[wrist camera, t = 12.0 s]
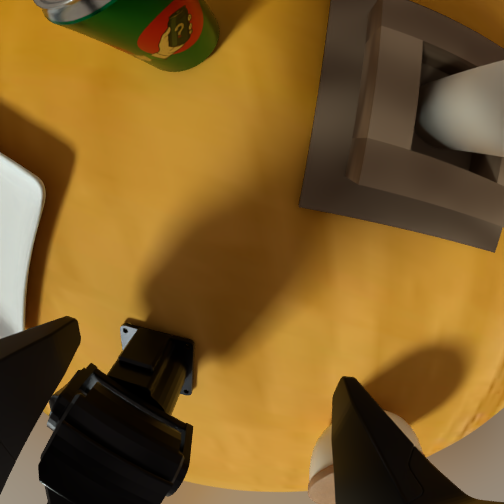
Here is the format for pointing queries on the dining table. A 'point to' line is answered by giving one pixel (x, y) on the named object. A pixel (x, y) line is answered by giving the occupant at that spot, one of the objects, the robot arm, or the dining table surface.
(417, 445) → the lidded jar
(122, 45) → the soda can
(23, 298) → the salad plate
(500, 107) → the cream peg
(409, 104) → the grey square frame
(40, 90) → the dining table surface
